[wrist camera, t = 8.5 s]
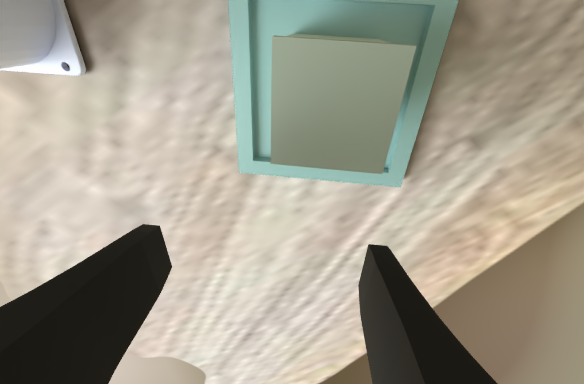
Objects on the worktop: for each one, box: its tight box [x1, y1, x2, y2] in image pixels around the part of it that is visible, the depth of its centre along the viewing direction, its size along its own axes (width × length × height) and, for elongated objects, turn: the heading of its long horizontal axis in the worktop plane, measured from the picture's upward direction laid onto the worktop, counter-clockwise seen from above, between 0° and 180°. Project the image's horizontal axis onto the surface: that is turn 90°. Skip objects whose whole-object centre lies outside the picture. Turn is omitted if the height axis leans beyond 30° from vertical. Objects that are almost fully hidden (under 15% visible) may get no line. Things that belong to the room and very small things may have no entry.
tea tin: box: [270, 33, 416, 174], centre depth 13 cm, size 5×5×7 cm
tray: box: [228, 0, 459, 187], centre depth 16 cm, size 11×11×1 cm
